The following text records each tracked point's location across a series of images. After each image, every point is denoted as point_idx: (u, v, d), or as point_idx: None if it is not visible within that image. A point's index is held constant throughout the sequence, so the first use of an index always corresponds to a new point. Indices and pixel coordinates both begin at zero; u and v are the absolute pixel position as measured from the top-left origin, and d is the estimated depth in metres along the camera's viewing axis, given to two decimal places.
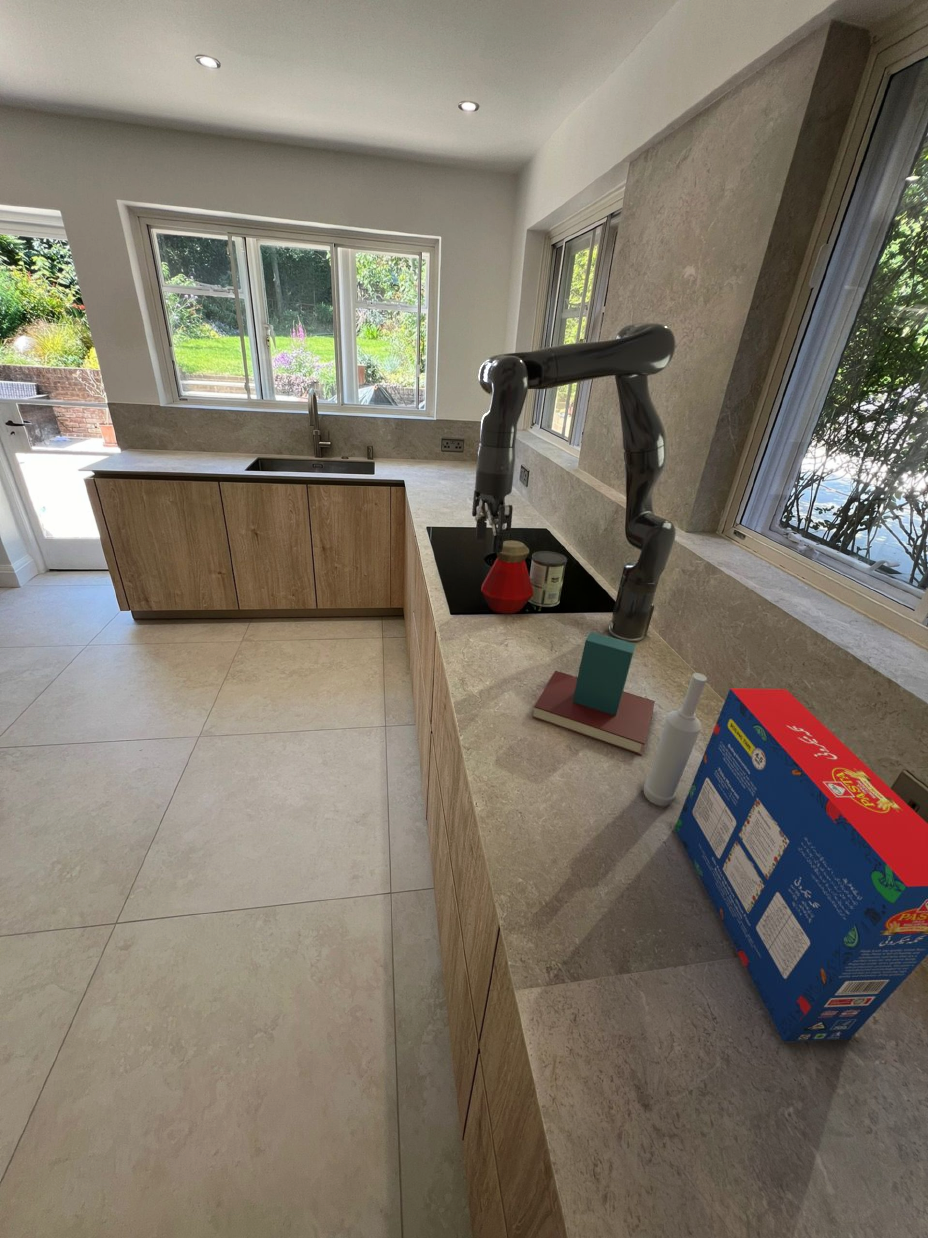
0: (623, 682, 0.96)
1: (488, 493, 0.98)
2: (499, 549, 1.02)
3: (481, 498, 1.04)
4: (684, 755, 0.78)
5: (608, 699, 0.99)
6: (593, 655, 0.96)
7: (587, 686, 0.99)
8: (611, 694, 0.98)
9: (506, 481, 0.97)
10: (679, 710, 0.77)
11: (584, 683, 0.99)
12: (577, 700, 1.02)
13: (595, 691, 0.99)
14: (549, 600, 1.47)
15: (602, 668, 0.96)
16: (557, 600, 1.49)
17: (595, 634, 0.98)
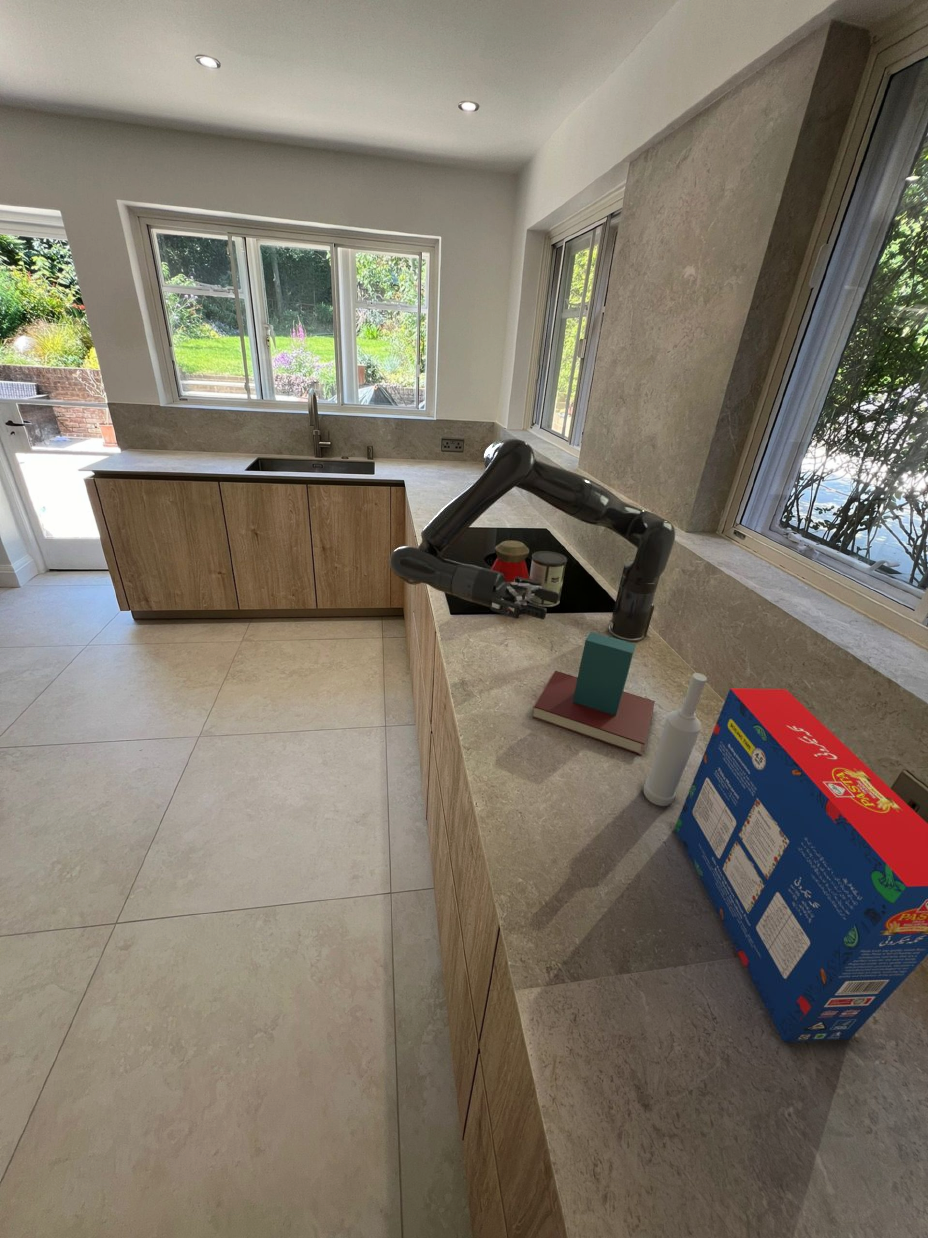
0: (623, 682, 0.96)
1: (490, 605, 1.01)
2: (539, 614, 0.94)
3: None
4: (684, 755, 0.78)
5: (608, 699, 0.99)
6: (592, 655, 0.96)
7: (587, 686, 0.99)
8: (611, 694, 0.98)
9: (479, 589, 0.99)
10: (679, 710, 0.77)
11: (584, 683, 0.99)
12: (577, 700, 1.02)
13: (595, 690, 0.99)
14: None
15: (602, 668, 0.96)
16: None
17: (595, 634, 0.98)
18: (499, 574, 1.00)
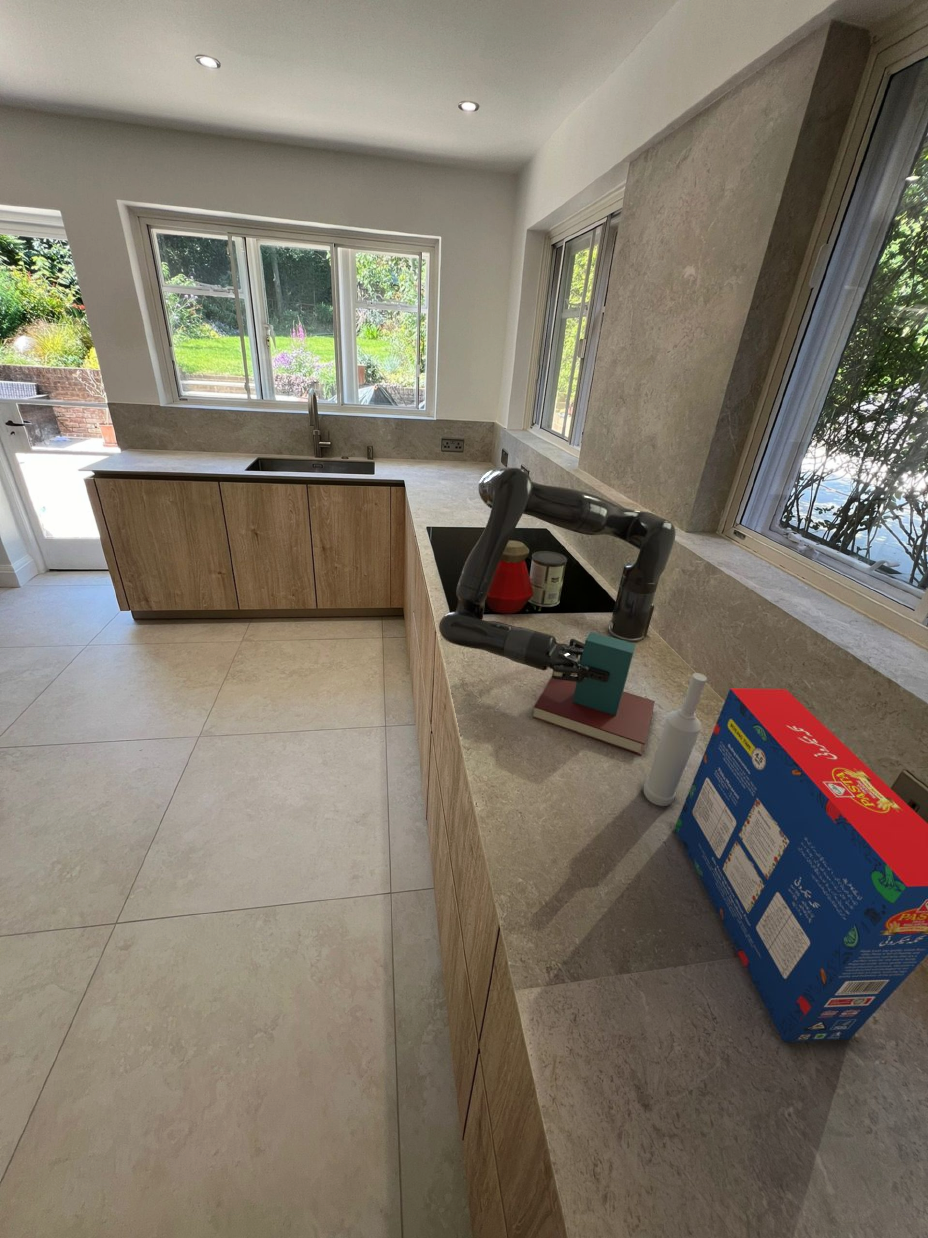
0: (623, 682, 0.96)
1: (543, 669, 1.02)
2: (602, 678, 0.96)
3: None
4: (684, 755, 0.78)
5: (608, 699, 0.99)
6: (592, 655, 0.96)
7: (587, 686, 0.99)
8: (611, 694, 0.98)
9: (532, 654, 1.00)
10: (679, 710, 0.77)
11: (584, 683, 0.99)
12: (577, 700, 1.02)
13: (595, 690, 0.99)
14: (549, 600, 1.47)
15: (602, 668, 0.96)
16: (557, 600, 1.49)
17: (595, 634, 0.98)
18: (551, 638, 1.01)
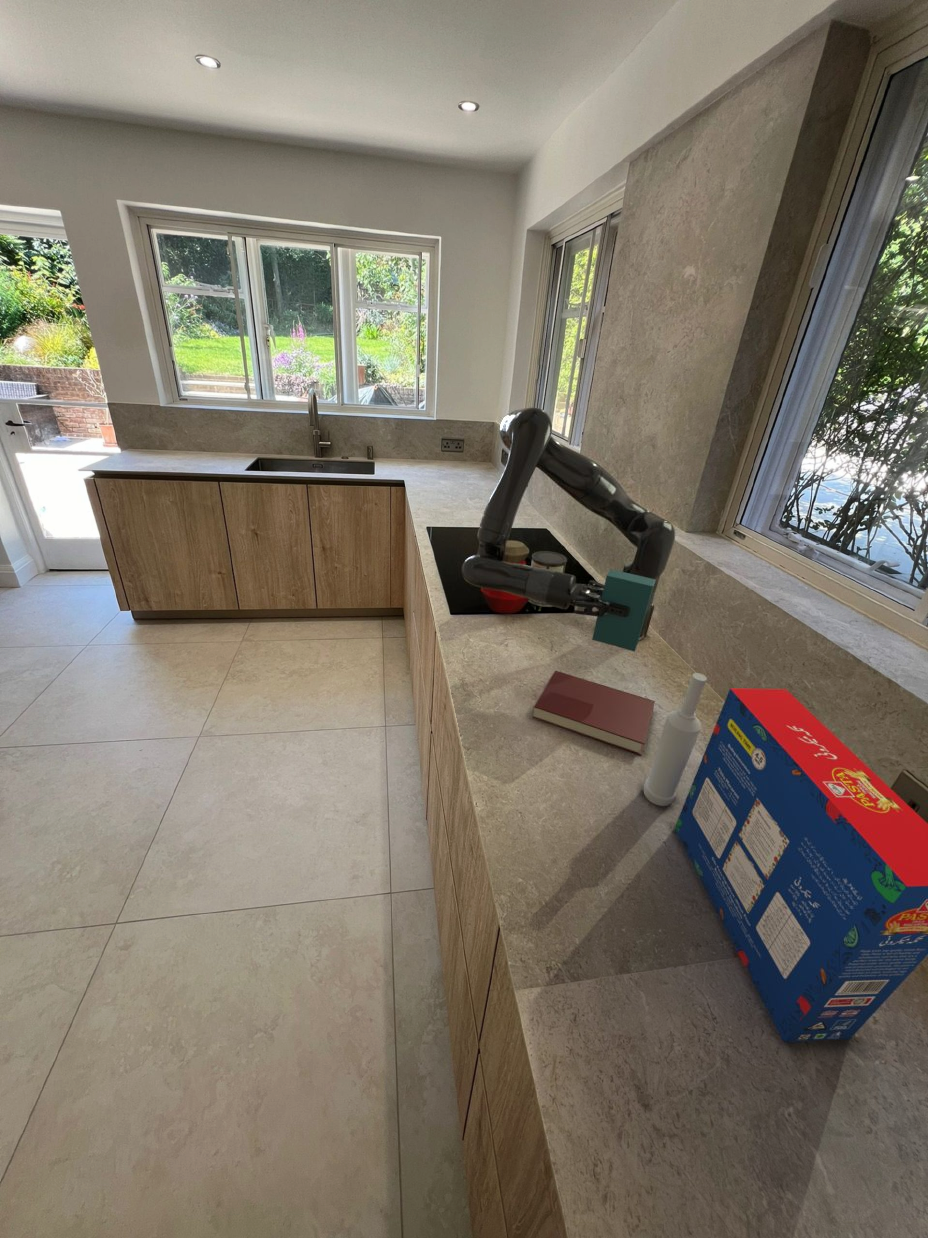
0: (643, 616, 0.99)
1: (564, 607, 1.05)
2: (623, 612, 0.99)
3: None
4: (684, 755, 0.78)
5: (627, 635, 1.02)
6: (613, 591, 0.99)
7: (607, 623, 1.03)
8: (630, 629, 1.01)
9: (554, 591, 1.03)
10: (679, 710, 0.77)
11: (604, 619, 1.03)
12: (597, 638, 1.05)
13: (615, 627, 1.02)
14: None
15: (622, 603, 0.99)
16: None
17: (615, 571, 1.01)
18: (572, 577, 1.04)
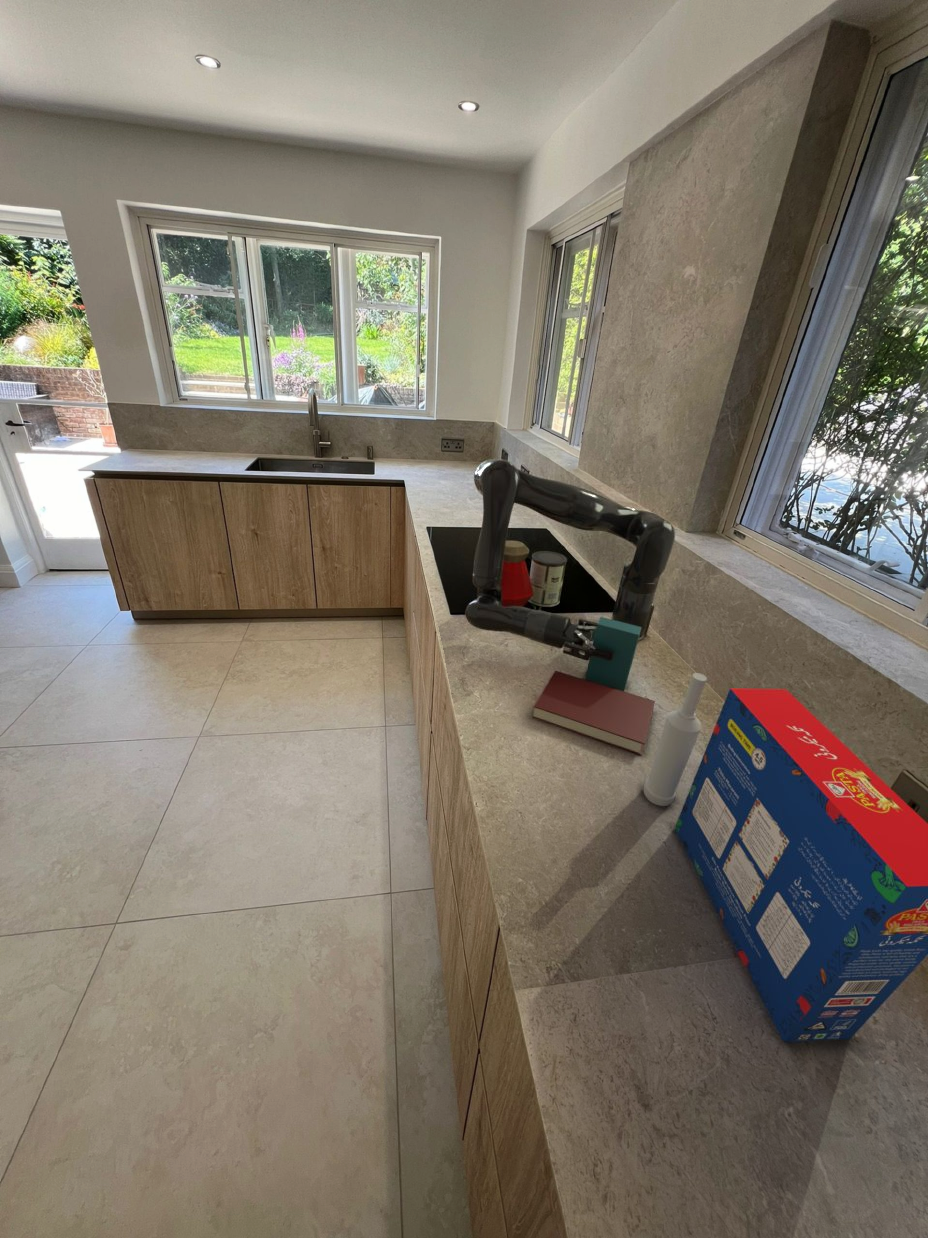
0: (630, 661, 1.08)
1: (559, 647, 1.14)
2: (607, 656, 1.07)
3: None
4: (684, 755, 0.78)
5: (617, 677, 1.11)
6: (603, 637, 1.09)
7: (598, 665, 1.12)
8: (619, 672, 1.10)
9: (550, 633, 1.13)
10: (679, 710, 0.77)
11: (595, 662, 1.12)
12: (589, 678, 1.15)
13: (606, 669, 1.12)
14: (549, 600, 1.47)
15: (611, 648, 1.09)
16: (557, 600, 1.49)
17: (605, 619, 1.10)
18: (567, 619, 1.13)
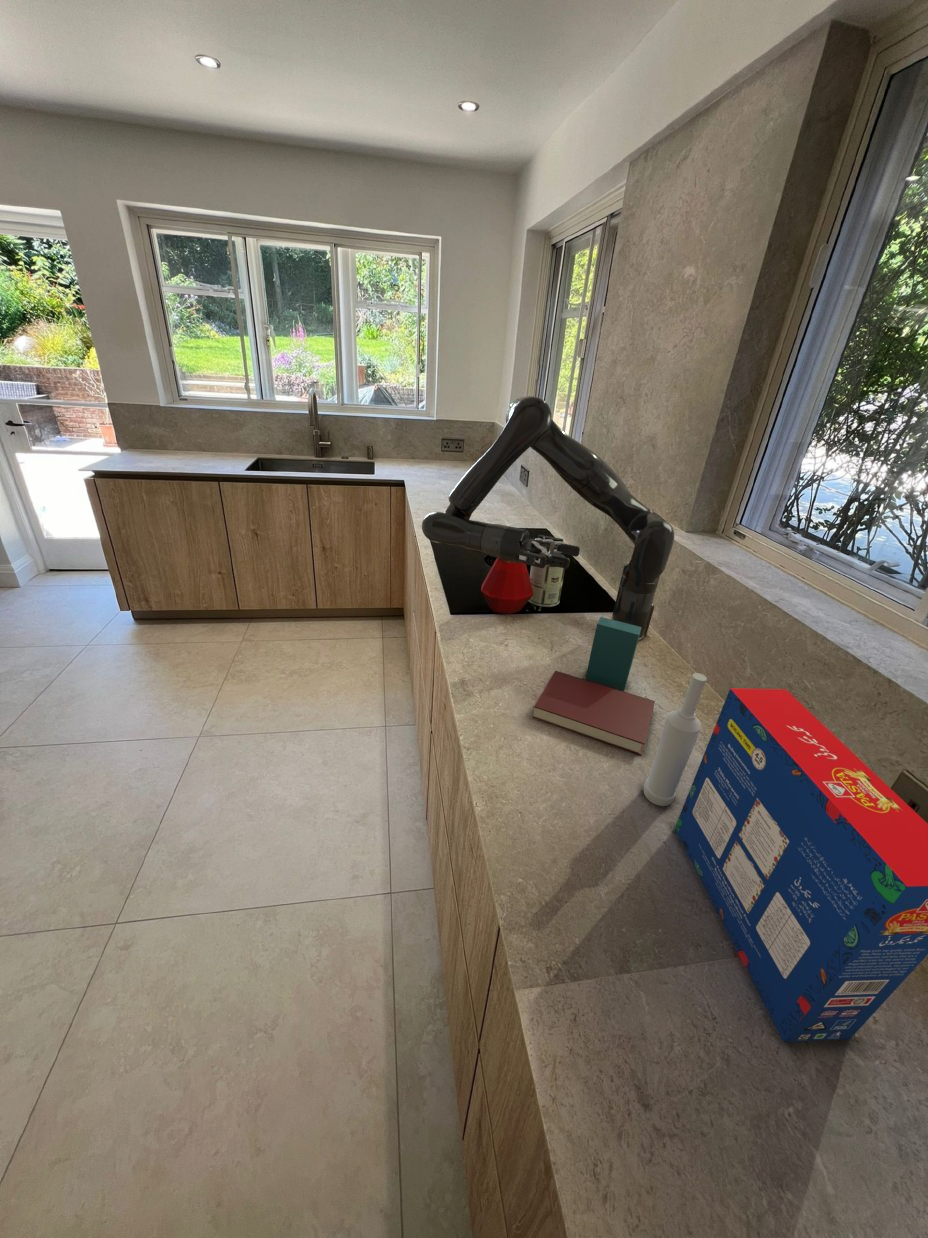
0: (630, 661, 1.08)
1: (516, 560, 1.10)
2: (563, 563, 1.03)
3: None
4: (684, 755, 0.78)
5: (617, 677, 1.11)
6: (603, 637, 1.09)
7: (598, 665, 1.12)
8: (619, 672, 1.10)
9: (506, 544, 1.08)
10: (679, 710, 0.77)
11: (595, 662, 1.12)
12: (589, 678, 1.15)
13: (606, 669, 1.12)
14: (549, 600, 1.47)
15: (611, 648, 1.09)
16: (557, 600, 1.49)
17: (605, 619, 1.10)
18: (524, 530, 1.09)
